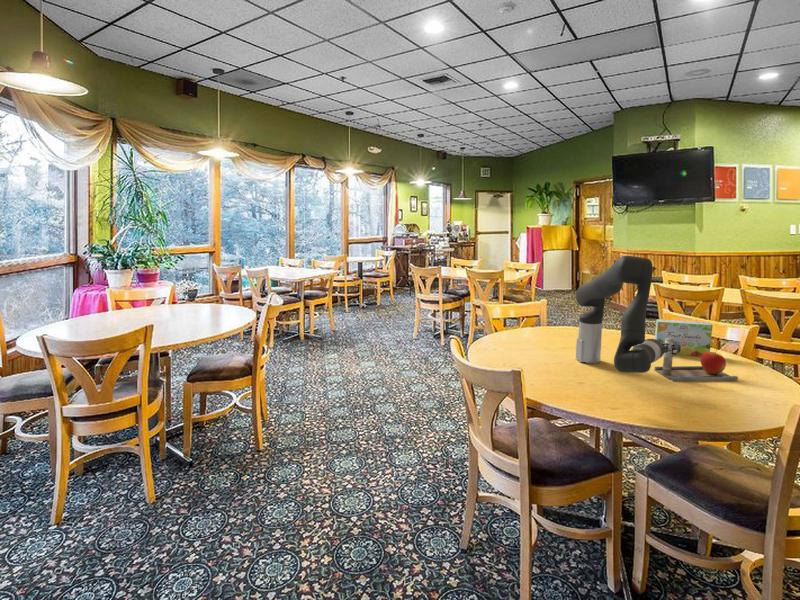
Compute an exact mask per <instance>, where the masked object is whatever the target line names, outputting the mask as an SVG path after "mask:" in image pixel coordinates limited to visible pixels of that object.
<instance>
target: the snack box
mask: <svg viewBox="0 0 800 600" xmlns="http://www.w3.org/2000/svg"><path fill="white" fill-rule="evenodd" d="M655 321H656V322H655V332H654V339H656V340H658V341H659V342H661V343H665V339H666V338H671V339H674V342H676V344H678V345H681V350H680V353H678V354H676V355H675V356H687V357H698V356H699V357H700V358H701V357H702V355H703V354H704V353H707V352H711V345H712V337H713V336H712V335H713V324H712V323H710V322H709V321H708V322H705V321H689V320H688V321H687V320H673V319H658V318H657V319H656V320H655ZM699 357H698V358H699Z"/></svg>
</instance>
